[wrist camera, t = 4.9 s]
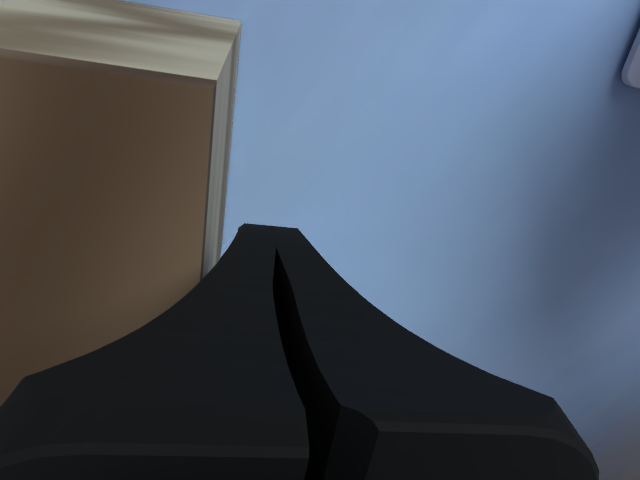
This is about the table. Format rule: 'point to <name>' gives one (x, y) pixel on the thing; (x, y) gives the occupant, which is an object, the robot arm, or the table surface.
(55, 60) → the ash block
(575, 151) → the table surface
